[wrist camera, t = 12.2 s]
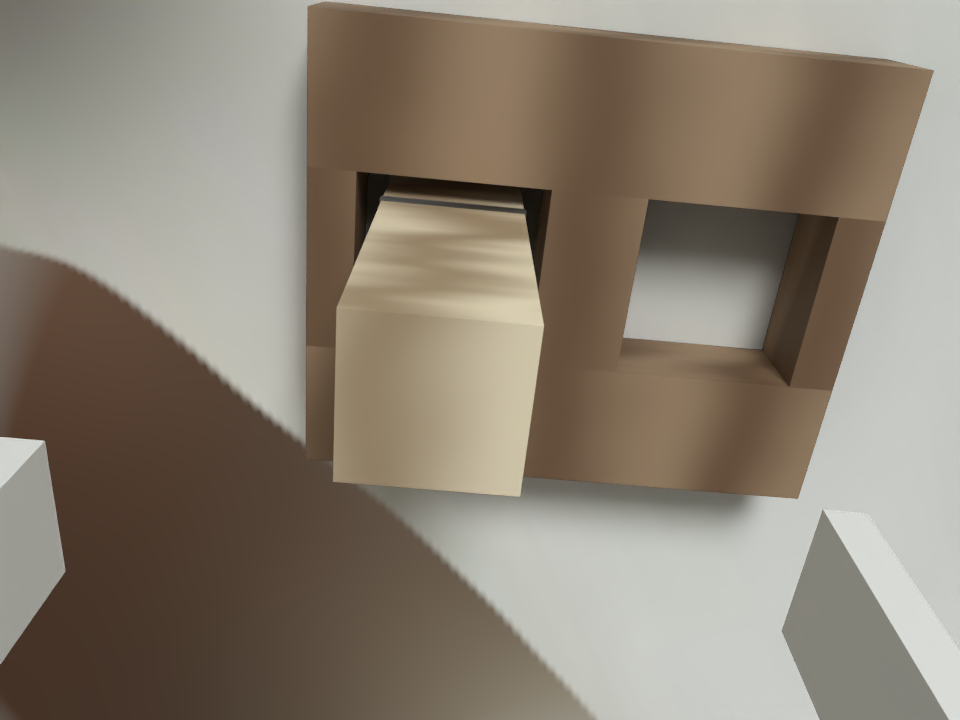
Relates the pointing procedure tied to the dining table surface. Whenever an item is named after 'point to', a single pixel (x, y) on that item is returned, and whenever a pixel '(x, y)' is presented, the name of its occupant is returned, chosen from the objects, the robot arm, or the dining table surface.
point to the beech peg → (439, 342)
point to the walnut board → (618, 217)
